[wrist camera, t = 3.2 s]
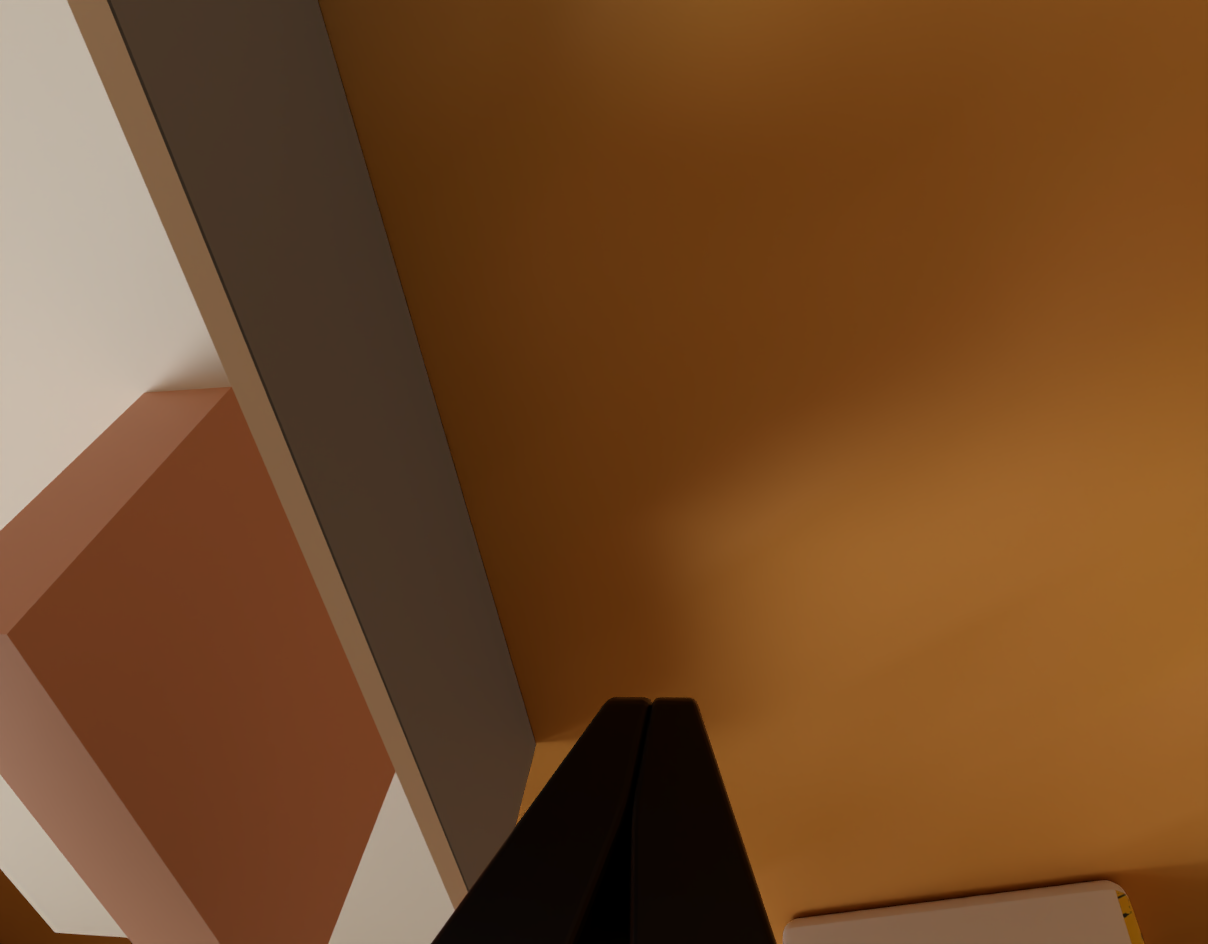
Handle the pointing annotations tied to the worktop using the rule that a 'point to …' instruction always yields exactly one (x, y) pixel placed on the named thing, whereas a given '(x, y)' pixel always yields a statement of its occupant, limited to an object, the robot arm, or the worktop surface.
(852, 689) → the worktop surface
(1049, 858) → the worktop surface
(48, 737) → the flap
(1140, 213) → the worktop surface
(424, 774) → the carton
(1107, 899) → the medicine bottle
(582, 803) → the robot arm
